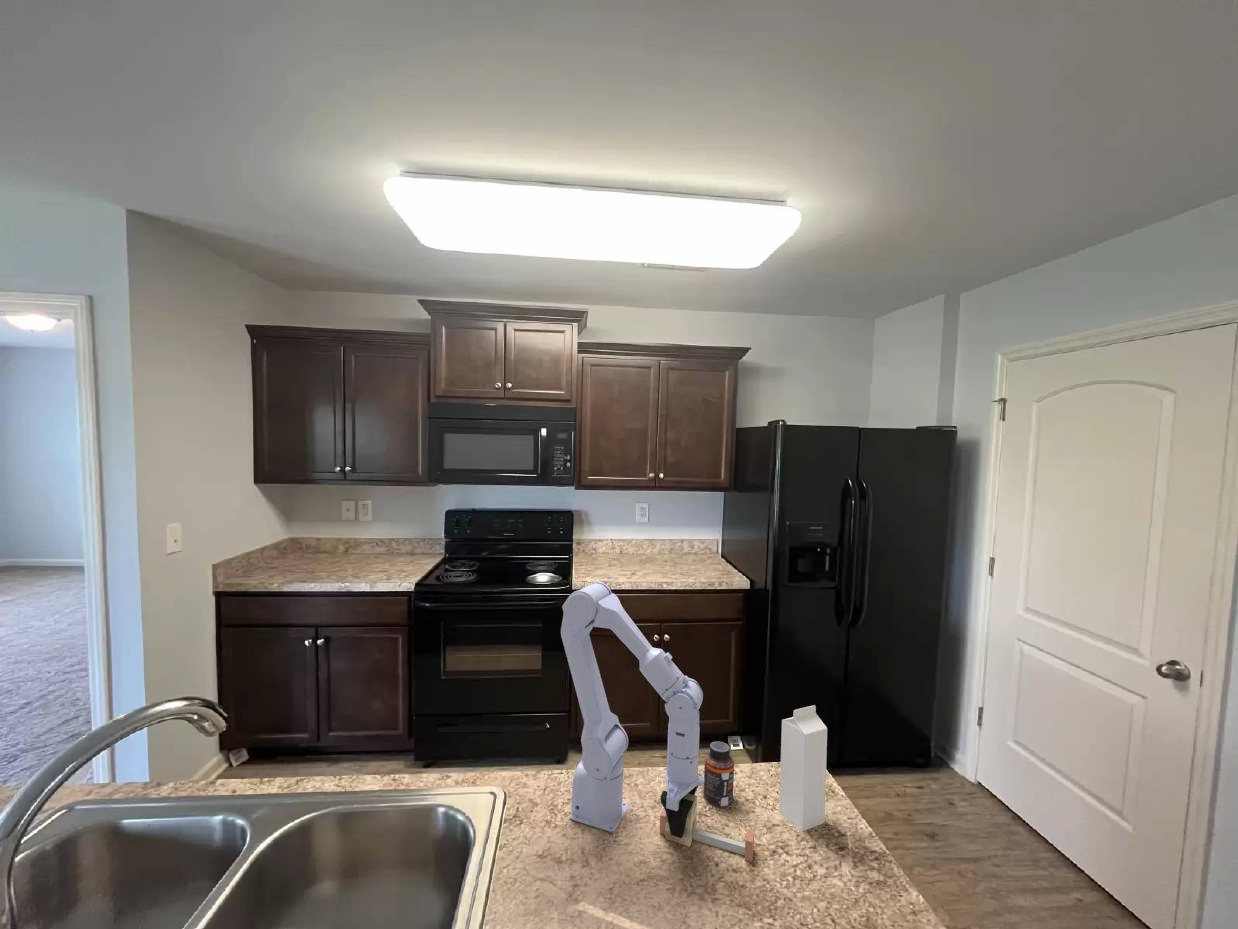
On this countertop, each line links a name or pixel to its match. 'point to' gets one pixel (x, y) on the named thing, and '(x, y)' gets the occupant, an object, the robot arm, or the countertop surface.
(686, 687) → the robot arm
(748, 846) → the rail board
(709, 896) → the countertop surface
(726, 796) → the supplement bottle
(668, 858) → the countertop surface
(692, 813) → the slider block
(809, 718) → the milk
